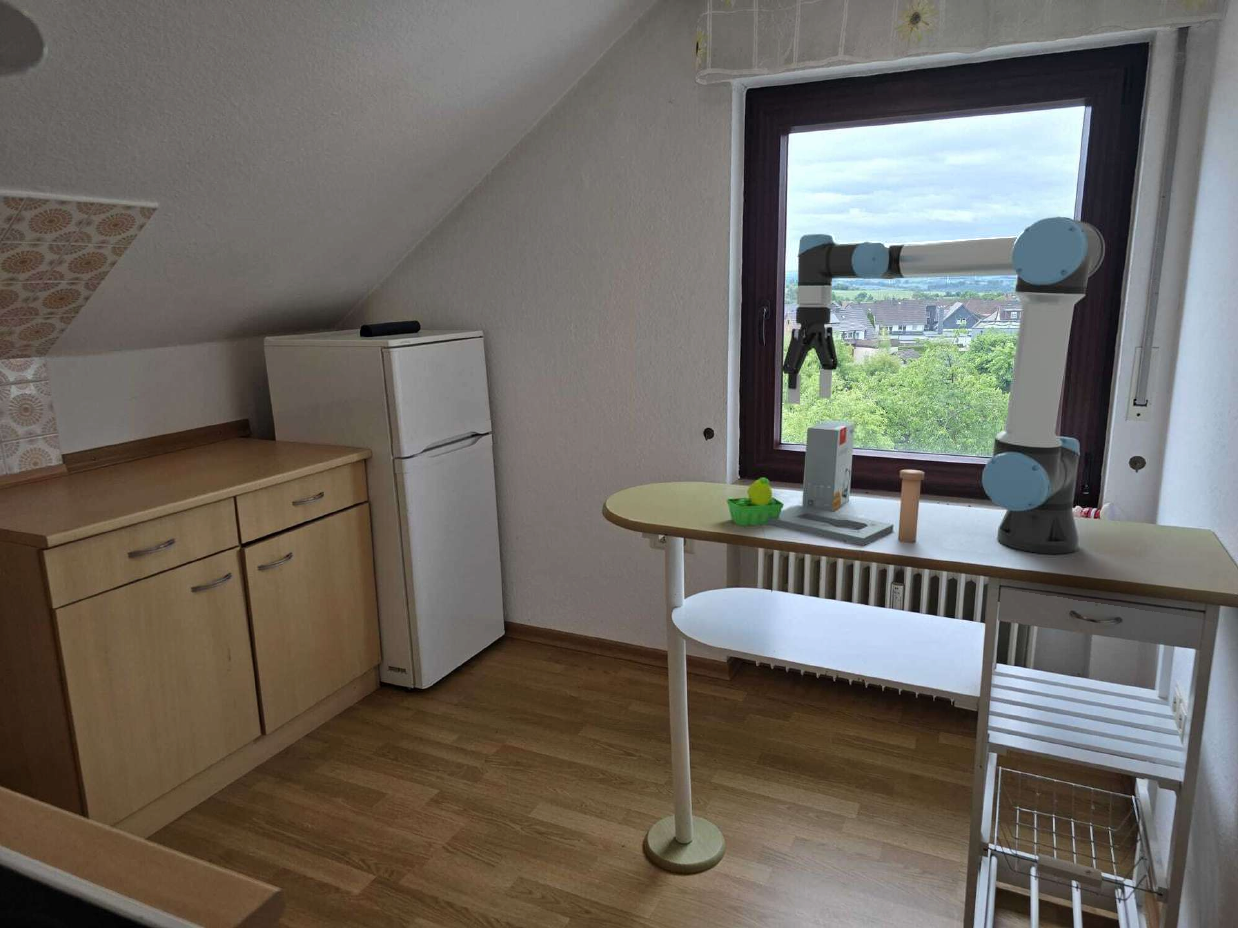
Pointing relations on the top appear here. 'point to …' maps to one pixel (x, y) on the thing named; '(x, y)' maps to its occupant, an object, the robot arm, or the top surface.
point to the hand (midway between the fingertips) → (809, 400)
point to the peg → (909, 504)
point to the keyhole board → (822, 522)
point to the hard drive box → (828, 465)
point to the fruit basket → (755, 505)
